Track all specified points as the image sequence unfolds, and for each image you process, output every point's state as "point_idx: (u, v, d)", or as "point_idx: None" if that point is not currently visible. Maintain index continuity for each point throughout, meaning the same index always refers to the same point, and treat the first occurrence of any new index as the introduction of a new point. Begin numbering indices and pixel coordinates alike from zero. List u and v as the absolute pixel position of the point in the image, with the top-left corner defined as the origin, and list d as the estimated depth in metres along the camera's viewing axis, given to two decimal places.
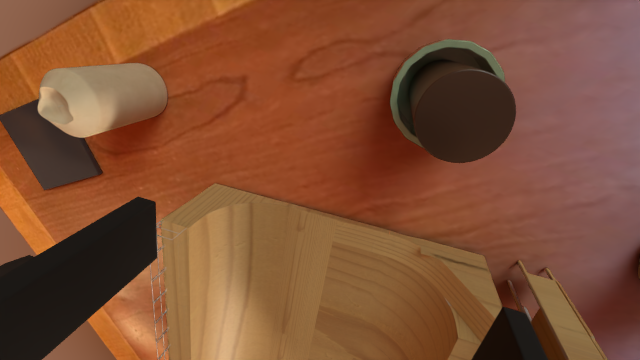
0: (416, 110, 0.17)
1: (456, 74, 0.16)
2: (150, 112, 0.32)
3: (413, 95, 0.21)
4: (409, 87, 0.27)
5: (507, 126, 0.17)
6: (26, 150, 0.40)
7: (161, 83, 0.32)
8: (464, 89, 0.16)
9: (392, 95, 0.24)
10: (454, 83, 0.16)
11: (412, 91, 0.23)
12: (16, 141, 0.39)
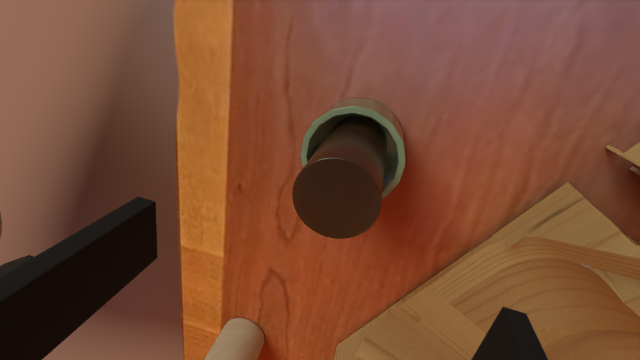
0: (310, 227, 0.19)
1: (295, 189, 0.18)
2: (255, 347, 0.38)
3: None
4: None
5: (360, 172, 0.17)
6: None
7: (244, 321, 0.39)
8: (310, 188, 0.18)
9: None
10: (302, 194, 0.18)
11: None
12: None
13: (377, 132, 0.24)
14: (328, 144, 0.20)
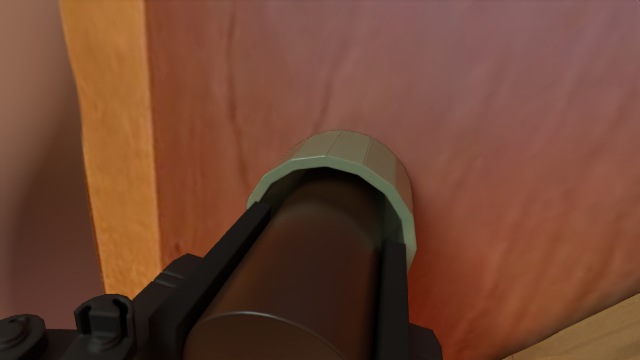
0: None
1: (186, 359, 0.08)
2: None
3: None
4: None
5: (319, 348, 0.07)
6: None
7: None
8: None
9: None
10: None
11: None
12: None
13: (369, 192, 0.15)
14: (269, 243, 0.10)
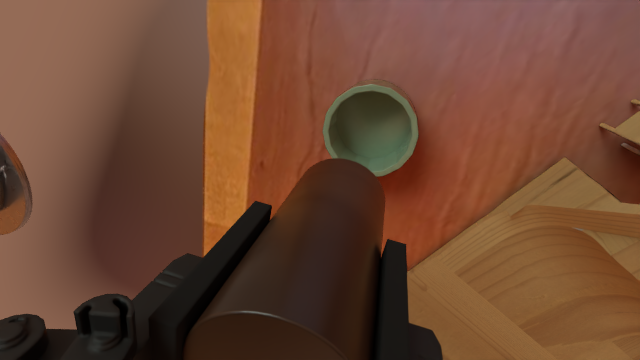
0: None
1: (186, 358, 0.08)
2: None
3: None
4: None
5: (319, 348, 0.07)
6: None
7: None
8: None
9: None
10: None
11: None
12: None
13: (369, 192, 0.15)
14: (269, 242, 0.10)
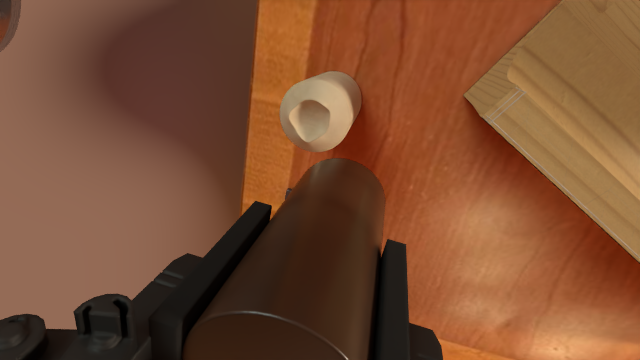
0: None
1: (186, 358, 0.08)
2: (357, 93, 0.29)
3: None
4: None
5: (320, 348, 0.07)
6: None
7: None
8: None
9: None
10: None
11: None
12: None
13: (369, 192, 0.15)
14: (269, 242, 0.10)
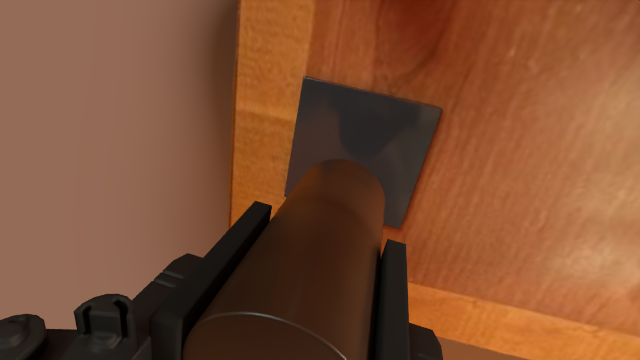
0: None
1: (186, 359, 0.08)
2: None
3: None
4: None
5: (319, 349, 0.07)
6: None
7: None
8: None
9: None
10: None
11: None
12: None
13: (369, 193, 0.15)
14: (269, 243, 0.10)
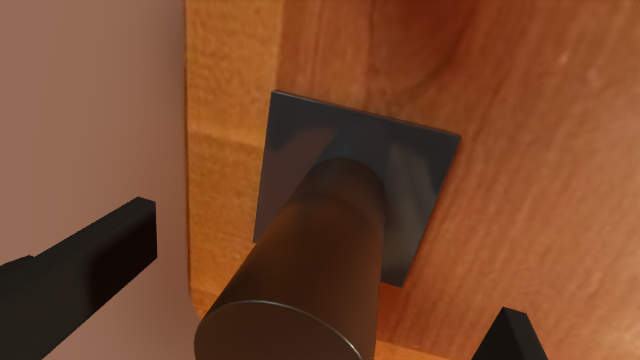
0: None
1: (198, 347, 0.09)
2: None
3: None
4: None
5: (325, 335, 0.08)
6: None
7: None
8: (226, 350, 0.09)
9: None
10: (211, 356, 0.09)
11: None
12: None
13: (371, 190, 0.15)
14: (276, 237, 0.11)
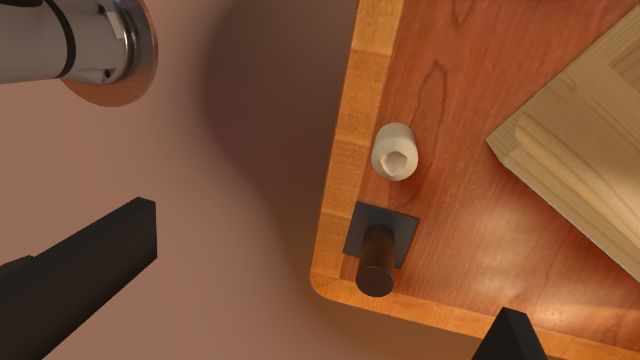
0: None
1: (357, 277, 0.43)
2: (414, 138, 0.43)
3: None
4: None
5: (385, 272, 0.41)
6: None
7: (400, 123, 0.45)
8: (364, 277, 0.42)
9: None
10: (360, 279, 0.43)
11: None
12: None
13: (390, 237, 0.49)
14: (369, 253, 0.44)
